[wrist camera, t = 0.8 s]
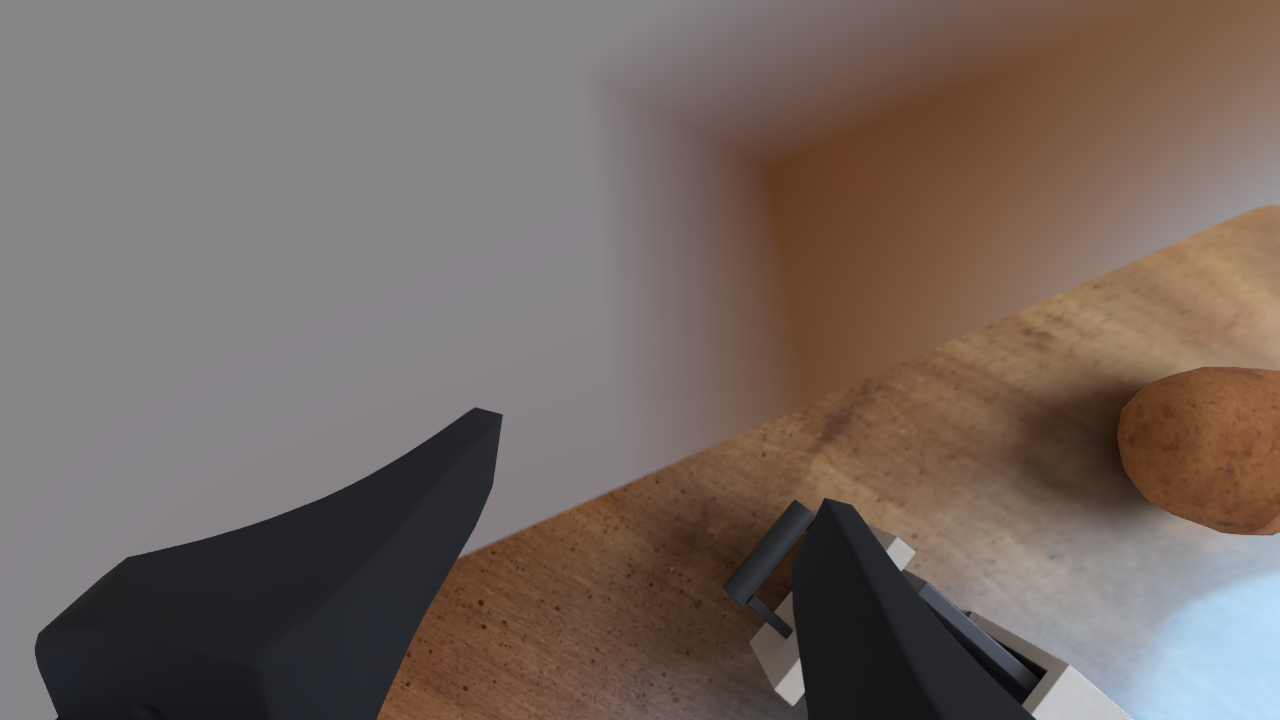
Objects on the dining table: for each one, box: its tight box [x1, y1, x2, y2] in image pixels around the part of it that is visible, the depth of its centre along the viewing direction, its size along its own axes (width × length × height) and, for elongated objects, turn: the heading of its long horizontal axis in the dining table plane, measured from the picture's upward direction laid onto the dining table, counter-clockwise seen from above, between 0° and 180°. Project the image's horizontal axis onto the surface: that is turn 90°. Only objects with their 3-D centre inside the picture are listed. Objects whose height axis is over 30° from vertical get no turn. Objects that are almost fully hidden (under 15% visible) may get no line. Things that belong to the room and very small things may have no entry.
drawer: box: [723, 500, 1041, 706], centre depth 32 cm, size 16×9×6 cm, turn 49°
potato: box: [1117, 367, 1280, 535], centre depth 33 cm, size 9×11×8 cm
